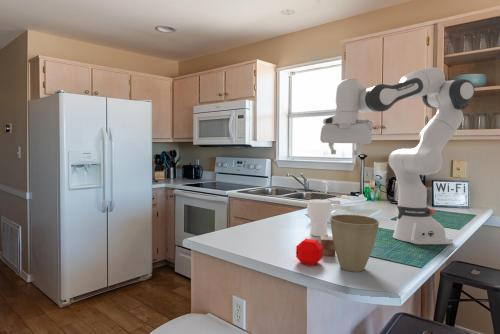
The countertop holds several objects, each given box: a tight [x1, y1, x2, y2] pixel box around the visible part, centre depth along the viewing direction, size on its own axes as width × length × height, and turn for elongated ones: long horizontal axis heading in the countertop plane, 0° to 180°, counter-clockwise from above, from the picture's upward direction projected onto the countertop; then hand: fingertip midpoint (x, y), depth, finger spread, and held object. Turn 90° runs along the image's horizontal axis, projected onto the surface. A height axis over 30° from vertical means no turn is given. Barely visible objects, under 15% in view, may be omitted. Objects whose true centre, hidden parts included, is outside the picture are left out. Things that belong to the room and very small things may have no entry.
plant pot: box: [329, 214, 380, 273], centre depth 111 cm, size 15×15×16 cm
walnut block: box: [319, 235, 336, 258], centre depth 126 cm, size 5×5×6 cm
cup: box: [306, 198, 333, 237], centre depth 154 cm, size 11×11×15 cm
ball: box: [295, 238, 324, 266], centre depth 116 cm, size 8×8×8 cm
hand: (344, 154), depth 139 cm, fingers open, 8 cm apart
